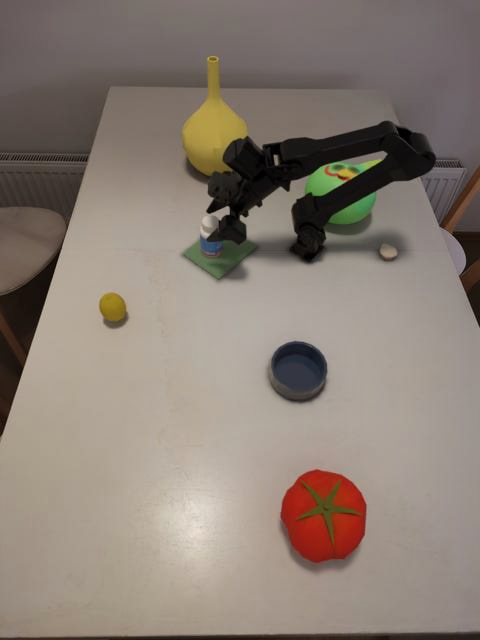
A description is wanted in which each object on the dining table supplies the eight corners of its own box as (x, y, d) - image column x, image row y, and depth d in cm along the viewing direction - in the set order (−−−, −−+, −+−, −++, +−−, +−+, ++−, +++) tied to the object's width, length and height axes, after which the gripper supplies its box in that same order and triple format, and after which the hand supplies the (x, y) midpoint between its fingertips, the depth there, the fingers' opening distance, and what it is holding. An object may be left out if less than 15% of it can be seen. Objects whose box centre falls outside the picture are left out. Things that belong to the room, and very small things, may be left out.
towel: (220, 224, 113) (220, 223, 113) (255, 247, 109) (256, 246, 108) (183, 255, 107) (182, 253, 107) (218, 280, 103) (218, 278, 102)
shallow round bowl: (291, 342, 94) (293, 331, 90) (333, 373, 90) (338, 363, 86) (258, 377, 89) (259, 367, 85) (302, 411, 85) (305, 402, 81)
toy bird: (293, 223, 114) (301, 177, 101) (312, 184, 122) (321, 138, 110) (360, 243, 110) (376, 198, 98) (374, 202, 119) (391, 155, 107)
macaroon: (381, 262, 107) (384, 256, 105) (374, 248, 109) (377, 241, 107) (397, 260, 107) (401, 253, 105) (389, 245, 110) (393, 238, 108)
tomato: (357, 487, 78) (376, 470, 68) (350, 576, 70) (370, 572, 60) (285, 469, 79) (292, 451, 69) (270, 555, 71) (276, 548, 62)
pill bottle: (220, 259, 106) (220, 231, 98) (199, 257, 106) (196, 228, 98) (224, 243, 109) (223, 214, 101) (203, 241, 109) (201, 211, 101)
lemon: (124, 329, 95) (116, 309, 88) (100, 325, 95) (90, 304, 89) (132, 309, 98) (125, 288, 91) (109, 305, 98) (100, 283, 92)
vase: (259, 160, 128) (266, 54, 103) (225, 195, 119) (223, 88, 94) (208, 139, 133) (203, 33, 108) (172, 171, 124) (157, 64, 99)
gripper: (228, 137, 92) (181, 180, 101) (231, 197, 82) (178, 239, 91) (263, 168, 99) (216, 205, 108) (269, 226, 89) (217, 262, 97)
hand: (207, 226), depth 101 cm, fingers open, 9 cm apart
